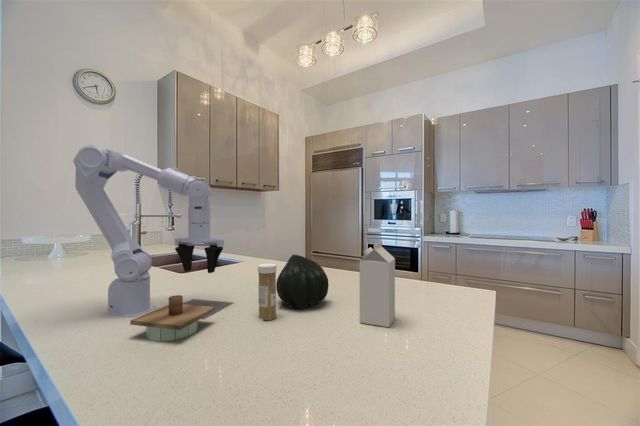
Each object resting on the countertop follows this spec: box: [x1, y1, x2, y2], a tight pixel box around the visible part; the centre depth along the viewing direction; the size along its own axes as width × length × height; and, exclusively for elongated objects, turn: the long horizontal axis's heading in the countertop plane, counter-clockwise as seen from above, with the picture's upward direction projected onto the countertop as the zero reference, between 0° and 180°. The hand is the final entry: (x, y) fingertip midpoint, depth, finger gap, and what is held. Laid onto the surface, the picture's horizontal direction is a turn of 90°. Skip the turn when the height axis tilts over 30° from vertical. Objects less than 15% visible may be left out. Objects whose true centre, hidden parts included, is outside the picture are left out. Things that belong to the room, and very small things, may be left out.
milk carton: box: [359, 241, 396, 328], centre depth 73 cm, size 7×7×19 cm
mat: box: [183, 298, 234, 321], centre depth 81 cm, size 14×14×1 cm
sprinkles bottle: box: [257, 262, 277, 321], centre depth 75 cm, size 5×5×14 cm
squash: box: [276, 254, 329, 309], centre depth 87 cm, size 14×15×15 cm
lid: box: [129, 294, 215, 330], centre depth 66 cm, size 12×12×4 cm
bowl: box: [145, 320, 199, 342], centre depth 65 cm, size 10×10×3 cm
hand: (199, 271), depth 83 cm, fingers open, 7 cm apart
